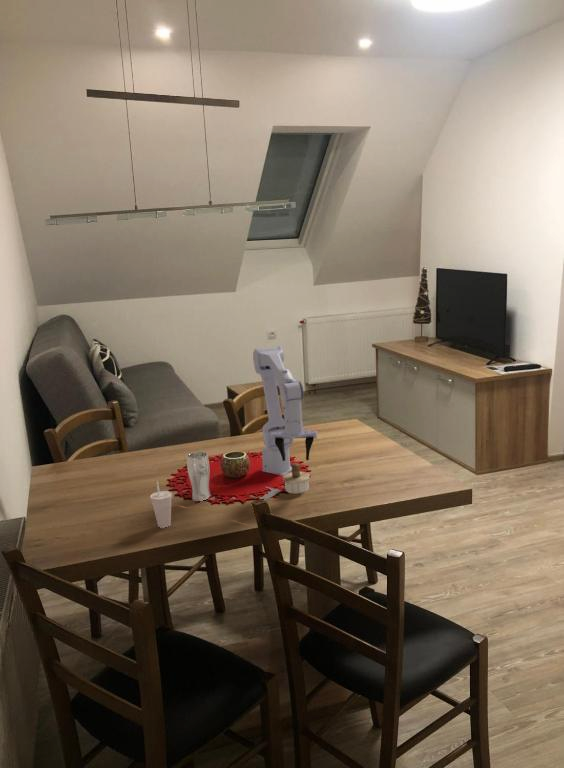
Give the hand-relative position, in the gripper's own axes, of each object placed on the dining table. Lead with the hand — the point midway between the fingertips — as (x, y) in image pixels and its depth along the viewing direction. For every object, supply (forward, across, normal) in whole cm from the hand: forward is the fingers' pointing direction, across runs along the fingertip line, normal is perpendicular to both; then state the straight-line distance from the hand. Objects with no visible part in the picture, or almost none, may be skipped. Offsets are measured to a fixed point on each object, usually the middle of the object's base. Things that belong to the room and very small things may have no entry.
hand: (295, 459), depth 206 cm
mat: (+10, -11, -3) cm, 16 cm away
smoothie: (+11, -37, -26) cm, 46 cm away
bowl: (+10, 0, 0) cm, 10 cm away
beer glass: (+11, -31, -6) cm, 33 cm away
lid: (+6, 0, 0) cm, 6 cm away
